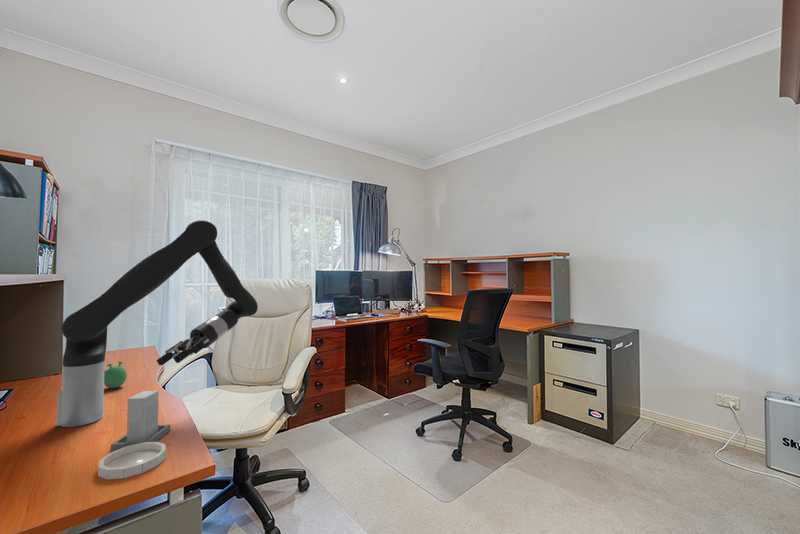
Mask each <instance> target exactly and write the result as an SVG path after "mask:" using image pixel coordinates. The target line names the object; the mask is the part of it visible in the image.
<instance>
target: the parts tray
mask: <svg viewBox="0 0 800 534" xmlns="http://www.w3.org/2000/svg"><path fill="white" fill-rule="evenodd" d="M168 431H169V432H170V431H171V424H158V433H156V434H155V435H154V436H153V437H151V438H150V439H149V440H147V441H142V442H127V433H125V434H124V435H123V436H121V437H120V438H118V439H117V440H115V441H113V442H112V443H111V444H110V452H113V451H116V450H118V449H121V448H123V447H126V446H130V445H134V444H138V443H144V442H159V441H160V439H162V438H163V437H164V436H165V435H167V433H169V432H168Z"/></svg>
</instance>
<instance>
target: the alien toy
mask: <svg viewBox="0 0 800 534" xmlns="http://www.w3.org/2000/svg"><path fill="white" fill-rule="evenodd" d="M117 363H118V365H113V363H111V362H110V363H108V364H107V366H106V367H109V368H107V369H106V370H105V369H104V387H106V388H108V389H112V390H113V389H118V388H119V387H121V386H122V385H124V383H125V382H126V380H127V371H126V368H124V367H123V366H122V364H124V362H123V361H120V360H119V361H118V362H117ZM112 365H113V366H112Z"/></svg>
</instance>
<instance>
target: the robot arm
mask: <svg viewBox="0 0 800 534" xmlns="http://www.w3.org/2000/svg"><path fill="white" fill-rule="evenodd" d="M217 237H218V229H217V226H216V225H215V224H213V223H212V222H210V221H209V220H204V219H199V220H195V221H192V222H190V223H189V224H188V225H186V227H185V230H184V231H183V232H182V233H180V235H178V237H177V238H175V239H174V240H173V241H172V242H170V243H169V244H167V245H166V246H163V247H162V248H160V249H158V250H156V251H155V252H153V253H152V254H150V255H148V256H147V257H146V258H144V259H142V260H141V261H139V262H138V263H137V264H136V265H134V266H133V267H131V269H129V270H128V271H127V272H126V273H124V274H123V275H122V276H121V277H120V278H118V280H116V281H115V282H114V283H113V284H112V286H110V287H109V288H108V289H107V290H106V291H104V293H103V294H100V296H98V297H97V298H96V299H94V300H92V301H91V302H89V303H88V304H86V305H84V306H83V307H81V308H80V309H77V311H75V312H72V313H71V314H70V315H68V316H67V317H66V318H65V319H64V321H63V322H62V326H61V333H62V335H63V336H64V337H65V348H64V349H65V350H64V353H63V357H62V377H61V378H62V380H61V391H58V393H57V396H56V420H55V421H56V422H55V423H56V424H55V426H56V427H59V426H60V427H62V428H74V427H80V426H81V427H82V426H87V425H89V424H92V423H95V422H97V421H99V420H101V419H102V418H103V416H104V398H105V397H104V394H105V392H104V391H105V385H104V371H105V367H106V366H105V365H106V352H107V341H108V340H107V339H108V326H110V324H111V323H112V322H113V321H114V320H115V319H116V318H118V317H119V316H120V315H121V314H122V313H123V312H124V311H126V310H127V309H129V308H130V307H131V306H133V305H135V304H136V303H138V302H140V301H141V300H143V299H144V298H145V297H147V296H149V295H150V294H151V293H153V292H154V291H155V290H157V289H158V288H159V287H161V286H162V284H164V282H165V283H166V281H167V280H168V279H170V278H171V277H172V276H173V275H174V274H175V273H176V272H177V271H178V270H179V269H180V268H181V267H182V266H183V265H184V264H185V263H186V262H187V261H188V260H190V259H191V258H192V257H193V256H195V255H197V254H199V255H200V256H201V258H202V259H203V260H204V262H205V263H206V266H207V267H208V269H209V270H210V272H211V275H212V276H213V277H214V280H215V281H216V283H217V285H218V287H219V288H220V290H221V292H222V293H223V295H224V297H227V298H228V299H233V300H234V301H232V302H231V303H229V304H227V306H226V307H225V308H224V309H223V310H222V311H221V312H218V313H217V314H216V315H215V316H213V317H211V318H209V319H207V320H205V321H204V322H202V323H200V324H199V325H198V326H196V327H195V328H193V329H192V330H191V331H190V333H189V338H186V339H184V340H180V341H179V342H177V343H175V344H174V345H173V346H171V347H170V348H168V349H167V350H165V351H164V353H165V354H163V355H161V356H160V357H159V358H157V359H156V363H157V364H158V366H163V365H165V364H166V363H167V362H170V361H171V360H172V359H173V361H174V362H175V363H176V364H180V363H181V362H182V361H183V360H185V359H187V358H188V357H190V356H193V354H194V355H195V354H198V353H199V352H201V351H202V350H203V349H207V348H208V347H210V346H211V345H212V344H214V343H215V342H217V341H218V340H219V339H220V338H222V337H223V336H224V335H226V333H227V332H229V331H230V330H231V329H232V328H234V327H235V326H236V325H237V324H238V322H239V319H241V318H246V317H250V316H254V315H255V314H256V313H257V312H258V307H259V306H258V302H257V299H255V297H254V296H253V295H252V294H251V293H250V292H249V290H247V289H246V288H245V287H244V286H243V284H242V282H241V280H240V278H239V277H238V275H237V273H236V271H235V270H234V269H233V267H232V266H231V265H230V263H229V262H228V261H227V260H226V258H225V257H224V256H223V254H222V252H221V251H220V249H219V247H218V244H217V242H216V240H217Z"/></svg>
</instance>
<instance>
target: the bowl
mask: <svg viewBox="0 0 800 534" xmlns="http://www.w3.org/2000/svg"><path fill="white" fill-rule="evenodd" d="M166 449H167V448H166V444H165V443H162V442H159V441H157V442H144V443H138V444H134V445H130V446H126V447H123V448H121V449H118V450H116V451H110V452H109V453H107V454H106V455H105V456H104V457H102V458H101V459H99V461H98V466H97V467H98V468H97V477H99V478H102V479H104V480H120V479H126V478H129V477H130V478H131V477H134V476H137V475H141V474H143V473H146V472H148V471H150V470H151V469H153V468H156V467H157V466H159V465H160V464H161V463H162V462H163V461H165V459H166V455H167V454H166V453H167V452H166Z"/></svg>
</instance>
